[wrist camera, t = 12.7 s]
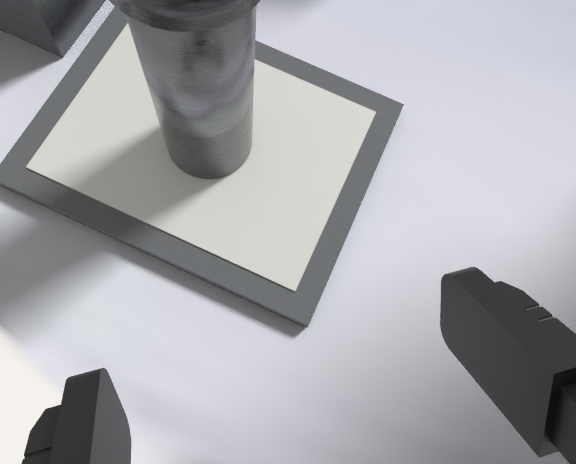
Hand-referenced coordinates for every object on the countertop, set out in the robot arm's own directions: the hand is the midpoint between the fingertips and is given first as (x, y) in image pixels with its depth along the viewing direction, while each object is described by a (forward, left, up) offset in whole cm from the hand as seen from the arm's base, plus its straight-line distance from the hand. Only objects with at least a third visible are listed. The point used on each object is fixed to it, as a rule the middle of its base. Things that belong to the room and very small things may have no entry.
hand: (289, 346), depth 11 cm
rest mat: (-7, -6, -8) cm, 12 cm away
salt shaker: (-7, -6, -7) cm, 12 cm away
